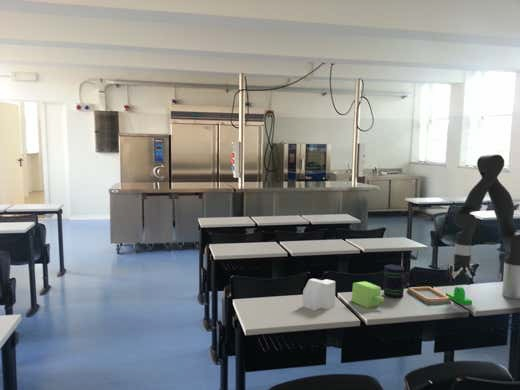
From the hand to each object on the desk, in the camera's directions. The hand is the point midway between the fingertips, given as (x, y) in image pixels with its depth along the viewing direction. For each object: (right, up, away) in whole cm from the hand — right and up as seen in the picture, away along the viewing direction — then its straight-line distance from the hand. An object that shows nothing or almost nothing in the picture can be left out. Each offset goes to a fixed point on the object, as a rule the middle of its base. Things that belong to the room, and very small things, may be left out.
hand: (460, 284), depth 209 cm
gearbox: (-47, -8, -6) cm, 48 cm away
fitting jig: (-14, -7, +4) cm, 16 cm away
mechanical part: (-1, -8, 0) cm, 8 cm away
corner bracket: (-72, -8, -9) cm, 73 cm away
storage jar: (-31, -7, +7) cm, 33 cm away
